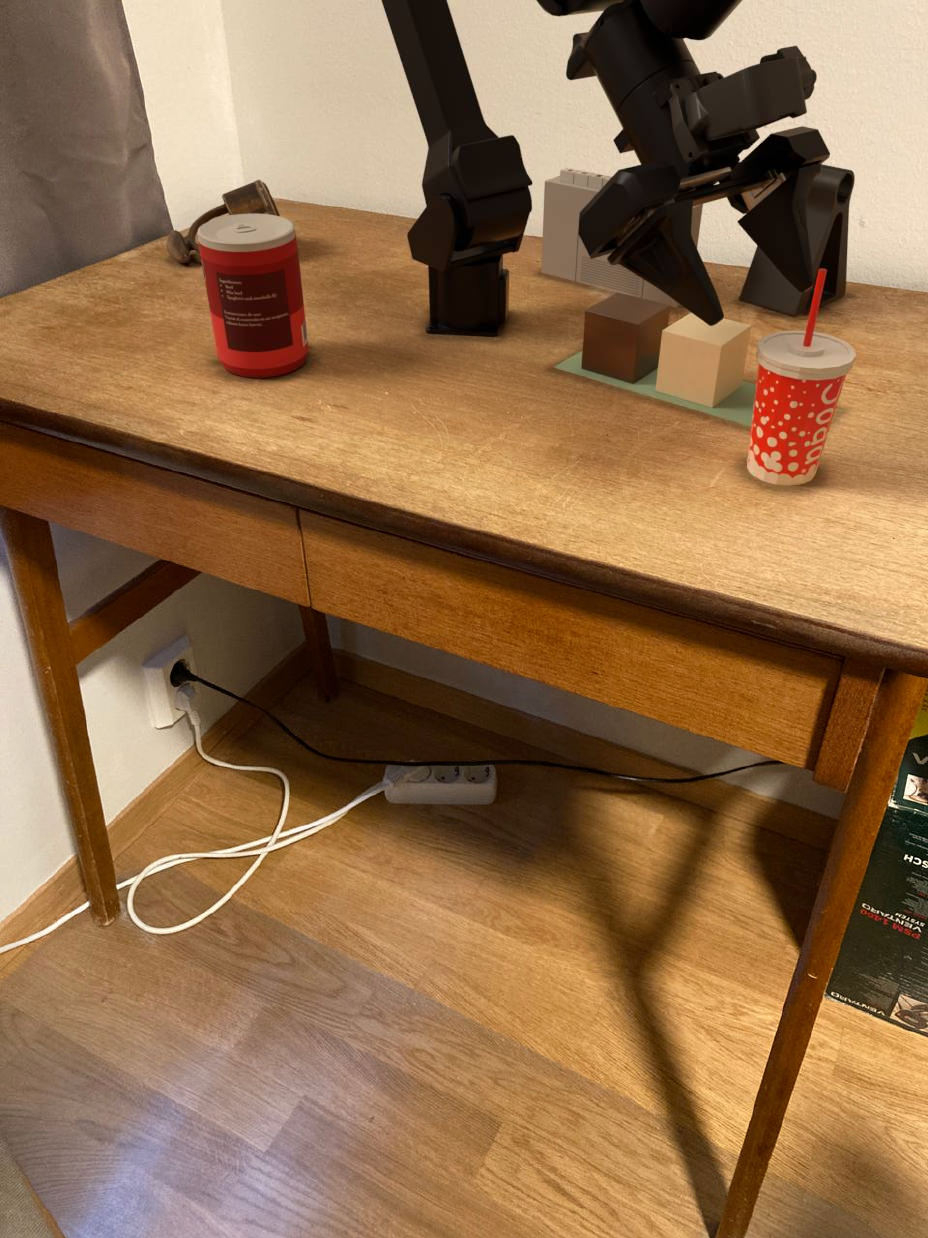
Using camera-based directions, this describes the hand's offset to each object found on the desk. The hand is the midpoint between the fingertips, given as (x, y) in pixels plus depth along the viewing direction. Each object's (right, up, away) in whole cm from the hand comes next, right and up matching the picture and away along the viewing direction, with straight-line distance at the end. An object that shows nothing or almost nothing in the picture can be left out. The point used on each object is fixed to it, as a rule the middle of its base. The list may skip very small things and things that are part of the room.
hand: (764, 305), depth 65 cm
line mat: (-1, -2, +15) cm, 15 cm away
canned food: (-37, +1, +20) cm, 42 cm away
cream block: (-1, -2, +14) cm, 15 cm away
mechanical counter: (-45, +19, +43) cm, 65 cm away
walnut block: (-6, 0, +18) cm, 19 cm away
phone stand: (+12, +10, +30) cm, 34 cm away
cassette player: (-5, +12, +33) cm, 36 cm away
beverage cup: (+2, -10, +4) cm, 12 cm away
